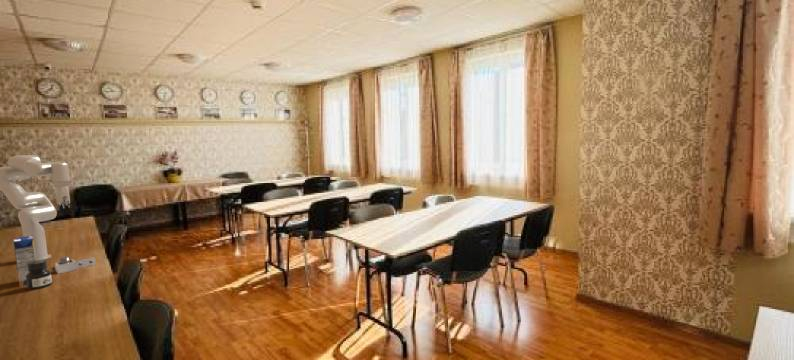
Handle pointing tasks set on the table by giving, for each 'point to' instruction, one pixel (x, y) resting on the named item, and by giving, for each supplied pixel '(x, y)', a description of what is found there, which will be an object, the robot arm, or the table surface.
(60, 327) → the table surface
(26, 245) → the beverage box
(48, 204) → the robot arm
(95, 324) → the table surface
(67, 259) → the grey upright cylinder
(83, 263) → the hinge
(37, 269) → the ink bottle
